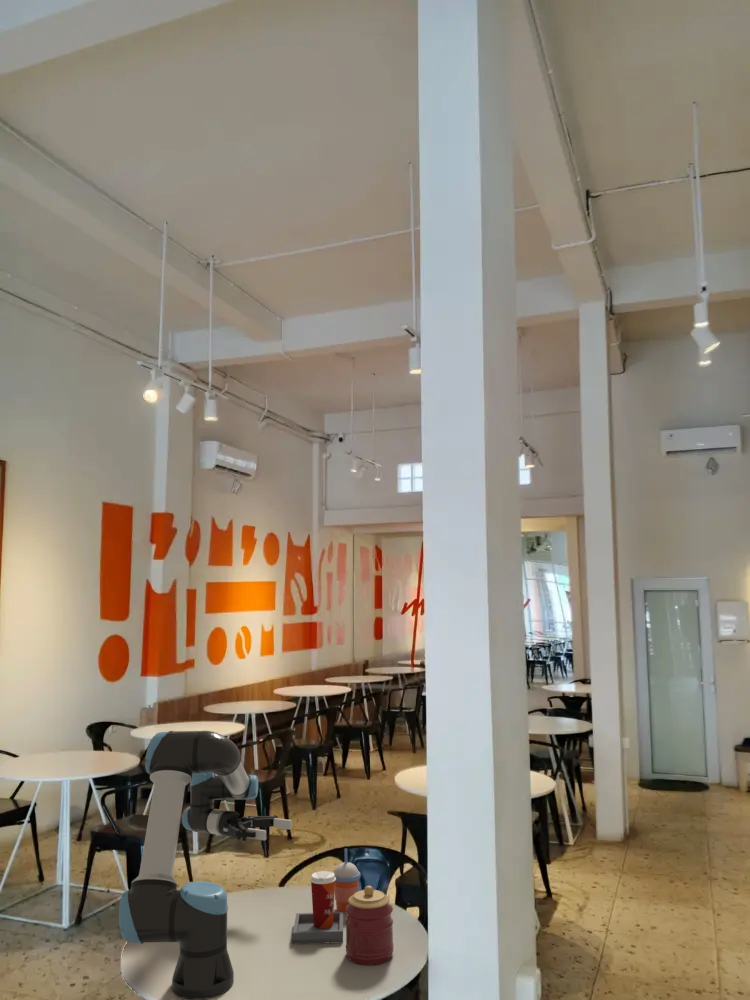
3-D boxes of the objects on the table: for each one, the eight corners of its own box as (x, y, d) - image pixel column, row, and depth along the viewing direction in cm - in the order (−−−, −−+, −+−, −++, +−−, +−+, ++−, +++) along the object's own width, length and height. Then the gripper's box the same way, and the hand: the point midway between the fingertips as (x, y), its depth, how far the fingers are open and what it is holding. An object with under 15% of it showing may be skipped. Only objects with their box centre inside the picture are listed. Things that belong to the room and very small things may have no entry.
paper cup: (334, 930, 222) (333, 879, 224) (308, 930, 223) (307, 878, 224) (338, 919, 230) (337, 870, 231) (312, 919, 230) (312, 869, 232)
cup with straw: (366, 907, 241) (365, 847, 244) (350, 917, 234) (349, 855, 236) (342, 902, 246) (342, 842, 249) (326, 911, 239) (325, 850, 241)
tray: (293, 944, 216) (292, 932, 216) (296, 924, 230) (296, 913, 230) (343, 942, 216) (342, 931, 217) (343, 922, 230) (343, 911, 230)
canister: (355, 969, 200) (354, 897, 202) (339, 949, 212) (338, 881, 214) (401, 960, 205) (400, 890, 207) (382, 941, 217) (381, 875, 219)
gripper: (248, 825, 259) (301, 833, 249) (198, 845, 237) (253, 853, 227) (248, 802, 260) (301, 808, 250) (198, 819, 238) (253, 826, 228)
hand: (278, 830), depth 238 cm, fingers open, 13 cm apart
